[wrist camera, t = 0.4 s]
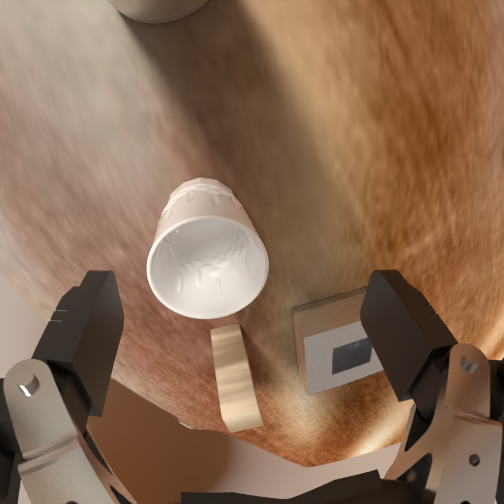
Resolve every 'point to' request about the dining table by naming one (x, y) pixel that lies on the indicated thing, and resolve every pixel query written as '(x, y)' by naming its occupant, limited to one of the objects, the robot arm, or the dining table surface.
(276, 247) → the dining table surface
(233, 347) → the square wooden peg
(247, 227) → the white cup
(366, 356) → the grey square socket block
